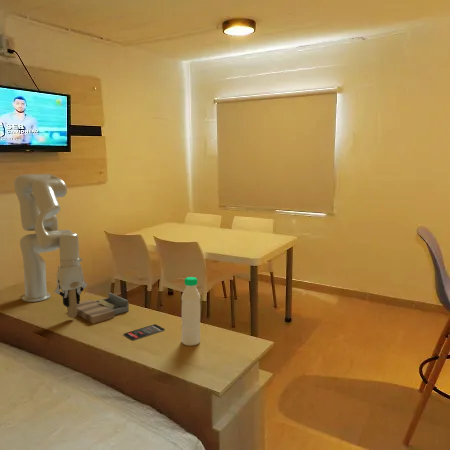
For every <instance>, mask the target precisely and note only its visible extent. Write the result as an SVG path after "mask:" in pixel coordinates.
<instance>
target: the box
mask: <svg viewBox="0 0 450 450" xmlns="http://www.w3.org/2000/svg"><path fill="white" fill-rule="evenodd" d="M101 299H102V300H104V301H106V302H108V303H110V304H112V305H114V308H113V309H111V310H113V311H114V317H115V316H117V315H121V314H124V313H128V312H129V300H128V299H126V298H123V297H121V296H118V295H116V294H115V293H112V292H108V297H106V298H101ZM94 301H95V302H97V303H98V302H99V301H100V299H99V300H94ZM99 304H100V303H99ZM101 305H102V304H101ZM103 306H104V305H103ZM105 307H106V306H105ZM107 308H108V307H107ZM109 309H110V308H109Z"/></svg>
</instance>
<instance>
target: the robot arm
mask: <svg viewBox="0 0 450 450" xmlns="http://www.w3.org/2000/svg"><path fill="white" fill-rule="evenodd" d="M13 188H14V192H15V194H16V196H17V199H18V203H19V209H20V222H21V226H22V229H23V230H24V231H26V232H27V231H28V232H34V233H29V234H26V235H23V236H22V237H21V238H20V240H19V247H20V252H21V254H22V255H21V256H22V261H23V262H22V263H23V279H24V293H25V294H23V295H22V297H21V300H22V301H23V302H29V303H33V302H35V303H36V302H42V301H45V300H47V299H48V300H49V298H51V293H50V292H49V291H47V273H46V271H47V270H46V261H45V259H44V258H43V257H42V256H41V255H40V254H42V253H48V252H54V251H57V250H58V249H59V266H58V267H57V272H56V287H55V289H54V290H53V292H54V293H55V294H57V295H60V296H61V297H62V304H63V306H65V307H66V308H67V307H69V298H68V297H67V294H68V290H72V289H76V299H77V304H79V302H81V295H82V292H83V291H84V289H85V288H87V287H88V284H87V282H86V281H85V280H84V272H83V267H82V264H81V262H83V258H82V257H80V244H79V242H80V241H79V240H80V239H79V235H78V233H76V232H73V231H72V230H71V229H59V221H58V216H57V215H58V214H59V213H60V211H61V206H60V203H59V200H58V198H63V197H65V196H66V195H67V193H68V187H67V185H66V182H65V181H64V180H63V179H62V178H60V177H58V176H57V175H54V174H50V173H42V174H41V173H38V174H37V173H36V174H35V173H29V174H27V173H26V174H19V175H18V176H16V177H15V179H14V182H13ZM78 282H79V285H78V286H77V287H75V288H72V287H70V284H73V283H78ZM60 290H61V291H60Z"/></svg>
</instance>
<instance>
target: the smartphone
mask: <svg viewBox="0 0 450 450" xmlns="http://www.w3.org/2000/svg"><path fill="white" fill-rule="evenodd" d="M161 332H165V328H163V327H162V326H161V325H158V324H155V323H154V324H151V325H148V326H144V327H141V328H138V329H134V330H132V331H128V332H125V333H123V337H126V338H127V339H129V340H130V341H132V342H133V341H137V340H139V339H143V338H145V337H149V336H151V335H155V334H158V333H161Z"/></svg>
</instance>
